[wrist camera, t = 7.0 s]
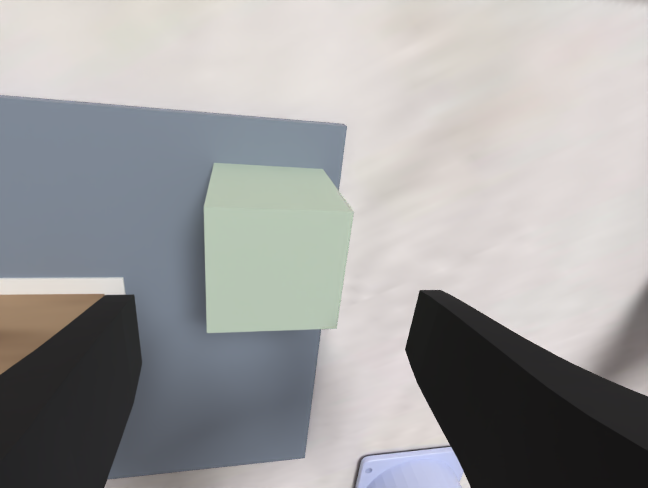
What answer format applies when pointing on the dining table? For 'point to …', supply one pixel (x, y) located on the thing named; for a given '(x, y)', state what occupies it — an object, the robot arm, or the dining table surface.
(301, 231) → the sage block
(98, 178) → the grey mat
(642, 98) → the dining table surface
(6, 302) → the walnut block
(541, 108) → the dining table surface
